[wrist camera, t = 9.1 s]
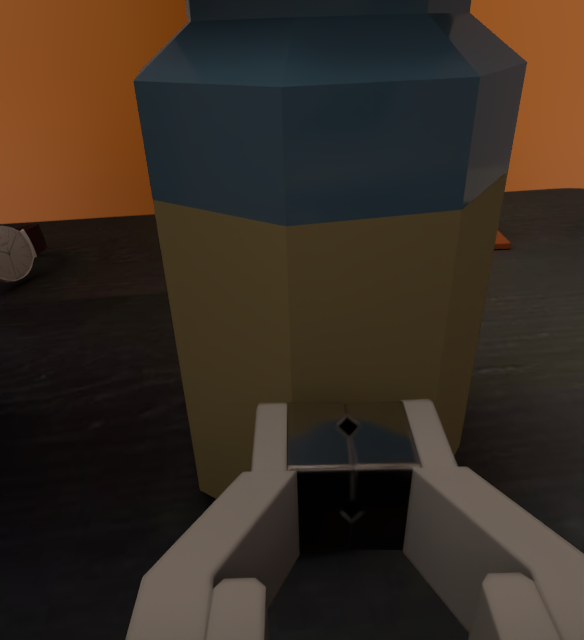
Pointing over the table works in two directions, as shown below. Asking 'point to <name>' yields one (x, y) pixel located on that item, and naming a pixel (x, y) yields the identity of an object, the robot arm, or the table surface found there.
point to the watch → (19, 250)
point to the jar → (325, 205)
